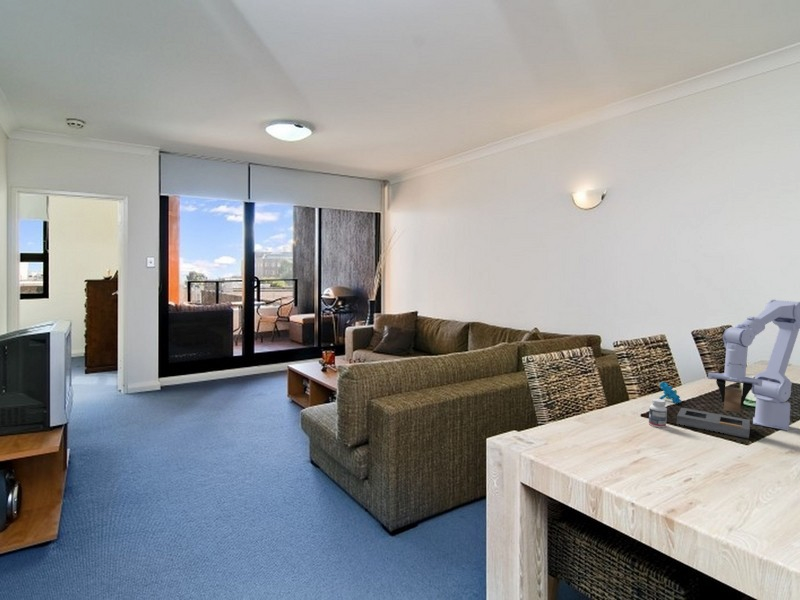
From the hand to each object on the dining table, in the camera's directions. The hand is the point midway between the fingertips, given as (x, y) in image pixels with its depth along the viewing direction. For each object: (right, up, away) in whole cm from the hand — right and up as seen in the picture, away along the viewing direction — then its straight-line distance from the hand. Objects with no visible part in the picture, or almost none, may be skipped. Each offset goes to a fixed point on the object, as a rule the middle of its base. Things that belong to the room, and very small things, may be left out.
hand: (732, 403), depth 151 cm
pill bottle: (-23, -9, +4) cm, 25 cm away
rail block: (-4, -9, +4) cm, 10 cm away
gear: (-1, -7, +33) cm, 33 cm away
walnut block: (0, -2, 0) cm, 2 cm away
